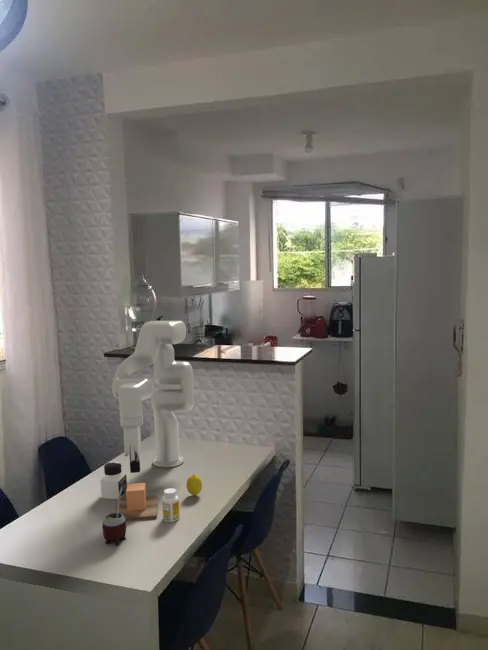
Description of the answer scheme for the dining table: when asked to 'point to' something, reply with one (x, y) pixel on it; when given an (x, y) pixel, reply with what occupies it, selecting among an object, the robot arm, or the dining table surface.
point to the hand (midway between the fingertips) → (135, 471)
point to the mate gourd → (114, 526)
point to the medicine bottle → (113, 481)
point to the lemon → (194, 484)
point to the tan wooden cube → (136, 496)
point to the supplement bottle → (170, 505)
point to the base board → (148, 513)
